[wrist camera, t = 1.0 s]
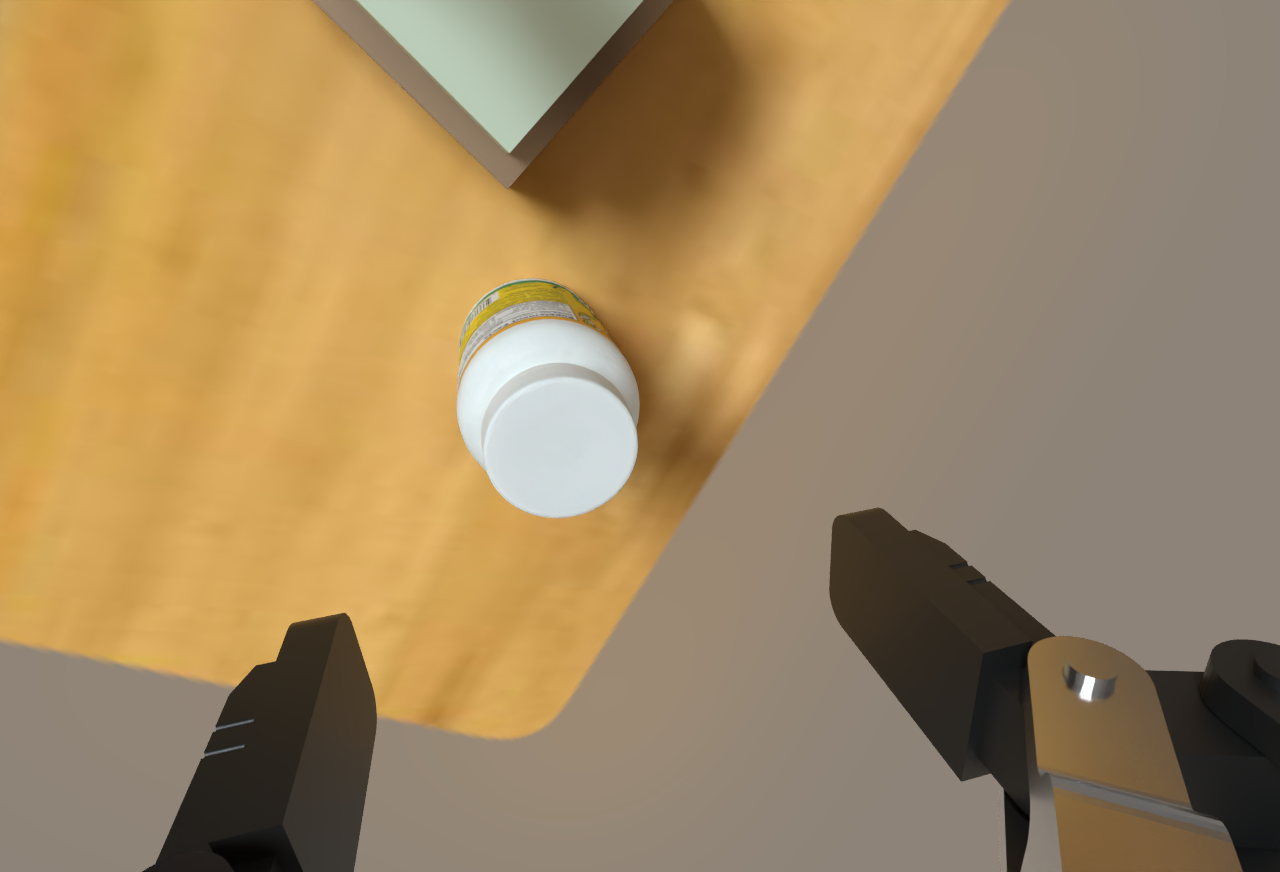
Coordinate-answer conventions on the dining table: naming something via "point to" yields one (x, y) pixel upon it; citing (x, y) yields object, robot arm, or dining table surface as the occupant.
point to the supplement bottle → (546, 399)
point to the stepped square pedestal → (497, 63)
